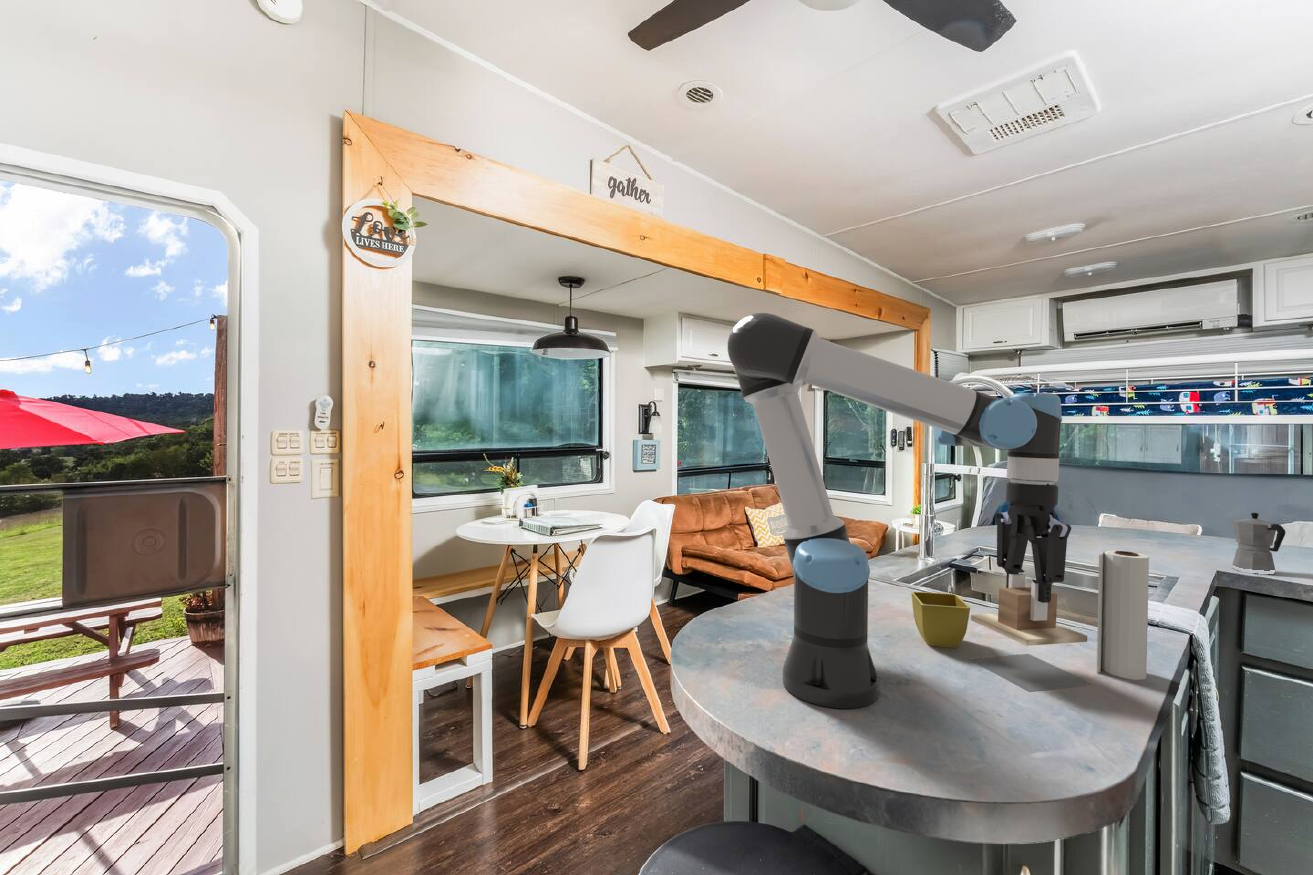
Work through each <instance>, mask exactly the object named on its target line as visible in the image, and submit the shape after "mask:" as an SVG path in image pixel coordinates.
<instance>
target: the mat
mask: <svg viewBox="0 0 1313 875" xmlns="http://www.w3.org/2000/svg"><path fill="white" fill-rule="evenodd" d="M968 660H970V661H971V662H973V663H975V664H977V665H978V666H980V667H982V668H984V669H985V670H987V671H989V672H992V673H993V674H995V675H996V676H999V677H1000V678H1003V679H1004V680H1006V681H1008V682H1010V683H1012V684H1013V685H1015V686H1017V687H1019V688H1021V689H1023V690H1024V691H1027V692H1028V693H1032V692H1033V693H1034V692H1040V691H1041V692H1043V691H1050V690H1060V689H1061V690H1063V689H1070V688H1071V689H1072V688H1079V687H1080V688H1081V687H1089V686H1096V684H1094V683H1093V682H1090V681H1088V680H1086V679H1084V678H1082V677H1080V676H1077V675H1075V674H1072V673H1071V672H1068V671H1066V670H1065V669H1062V668H1060V667H1058V666H1056V665H1054V664H1053V663H1052V664H1051V663H1050V662H1047V661H1045V660H1042V659H1041V658H1038V657H1037V656H1034V655H1032V654H1031V653H1022V654H1021V653H1020V654H1011V655H998V656H987V657H986V656H985V657H975V658H969V659H968Z"/></svg>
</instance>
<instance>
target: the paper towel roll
mask: <svg viewBox="0 0 1313 875" xmlns="http://www.w3.org/2000/svg"><path fill="white" fill-rule="evenodd" d="M1149 570H1150V557H1149V555H1147V554H1143V553H1141V552H1140V553H1138V552H1133V551H1127V550H1105V551H1102V552H1101V553H1099V555H1098V584H1097V585H1098V593H1097V632H1096V634H1097V638H1096V641H1097V642H1096V674H1099V673H1101V672H1102V671H1101V670H1104V672H1105V673H1108V674H1110V675H1112V676H1115V677H1119V678H1122V679H1127V680H1134V681H1143V680H1146V679H1147V675H1148V673H1147V667H1148V666H1147V665H1148V624H1149V623H1148V622H1149V621H1148V619H1149V618H1148V617H1149V578H1150V577H1149V576H1150V574H1149V572H1150V571H1149Z"/></svg>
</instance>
